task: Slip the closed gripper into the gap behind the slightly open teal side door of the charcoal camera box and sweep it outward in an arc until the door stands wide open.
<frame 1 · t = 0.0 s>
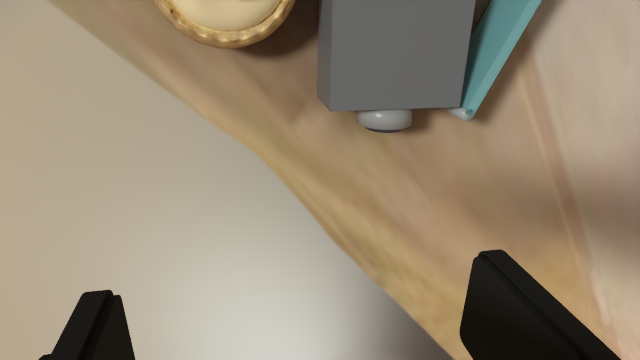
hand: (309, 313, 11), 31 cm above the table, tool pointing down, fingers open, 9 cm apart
side door: (506, 14, 38), point 3 cm above the table, hinge at 25.0°
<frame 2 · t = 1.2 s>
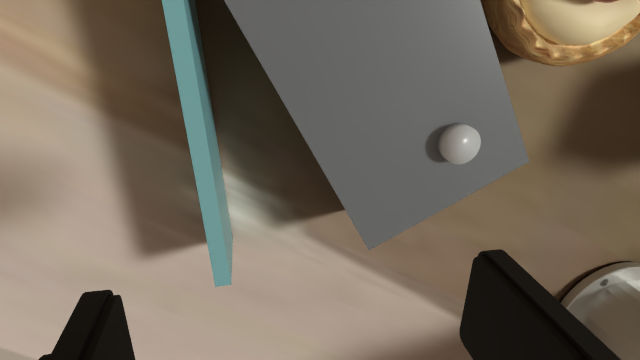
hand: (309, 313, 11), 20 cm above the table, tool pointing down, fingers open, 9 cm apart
camera body: (360, 58, 28), on the table
side door: (201, 122, 25), point 3 cm above the table, hinge at 25.0°
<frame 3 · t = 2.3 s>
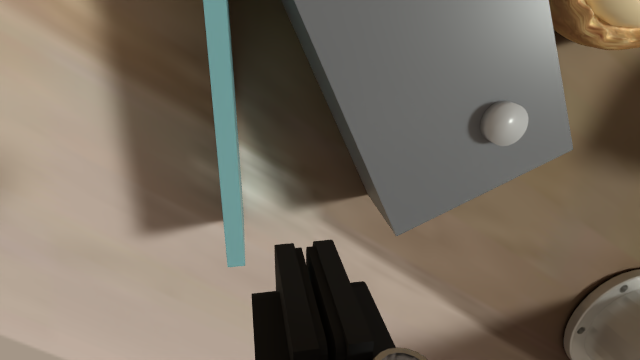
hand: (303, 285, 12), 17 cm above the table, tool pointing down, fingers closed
camera body: (397, 29, 26), on the table
side door: (224, 82, 23), point 3 cm above the table, hinge at 25.0°
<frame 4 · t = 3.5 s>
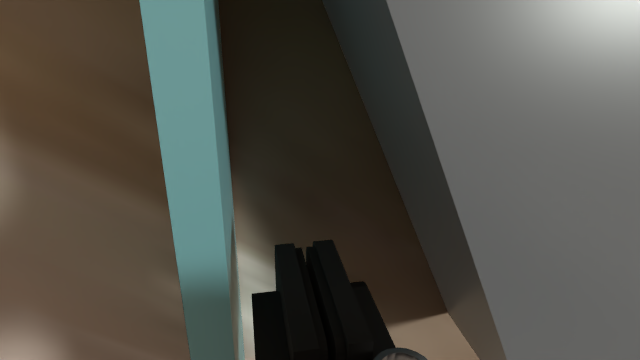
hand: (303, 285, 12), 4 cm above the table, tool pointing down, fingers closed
camera body: (524, 50, 15), on the table
side door: (206, 169, 11), point 3 cm above the table, hinge at 25.3°
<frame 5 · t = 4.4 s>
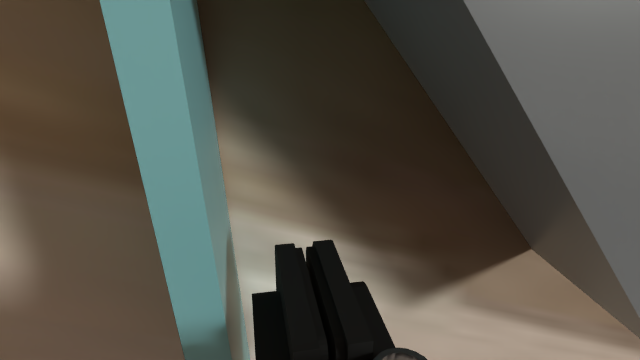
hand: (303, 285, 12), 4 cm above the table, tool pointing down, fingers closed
side door: (194, 173, 11), point 3 cm above the table, hinge at 36.9°, touching gripper
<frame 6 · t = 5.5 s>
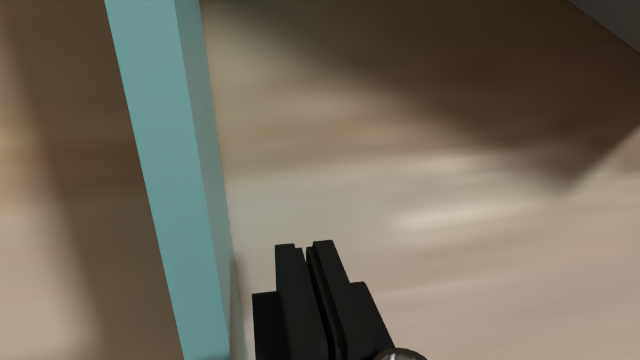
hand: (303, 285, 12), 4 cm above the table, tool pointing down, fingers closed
side door: (195, 174, 11), point 3 cm above the table, hinge at 61.4°, touching gripper
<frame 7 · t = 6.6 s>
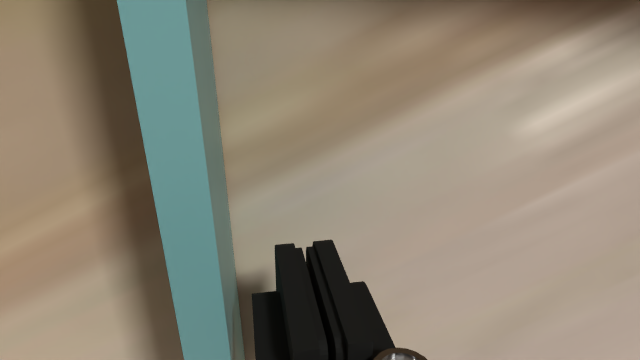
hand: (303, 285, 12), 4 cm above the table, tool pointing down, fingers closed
side door: (198, 173, 11), point 3 cm above the table, hinge at 83.8°, touching gripper
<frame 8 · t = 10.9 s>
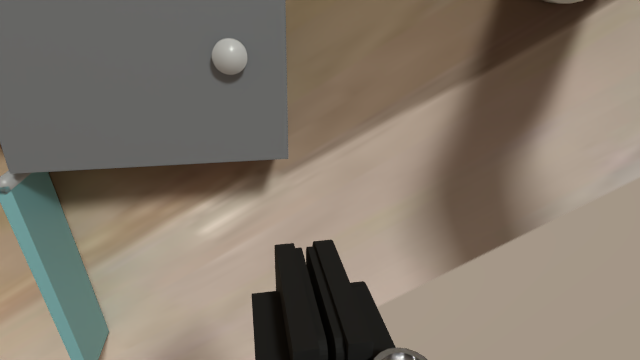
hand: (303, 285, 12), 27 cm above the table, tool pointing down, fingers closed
camera body: (158, 72, 34), on the table
side door: (61, 270, 36), point 3 cm above the table, hinge at 84.8°
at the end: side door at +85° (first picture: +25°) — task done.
